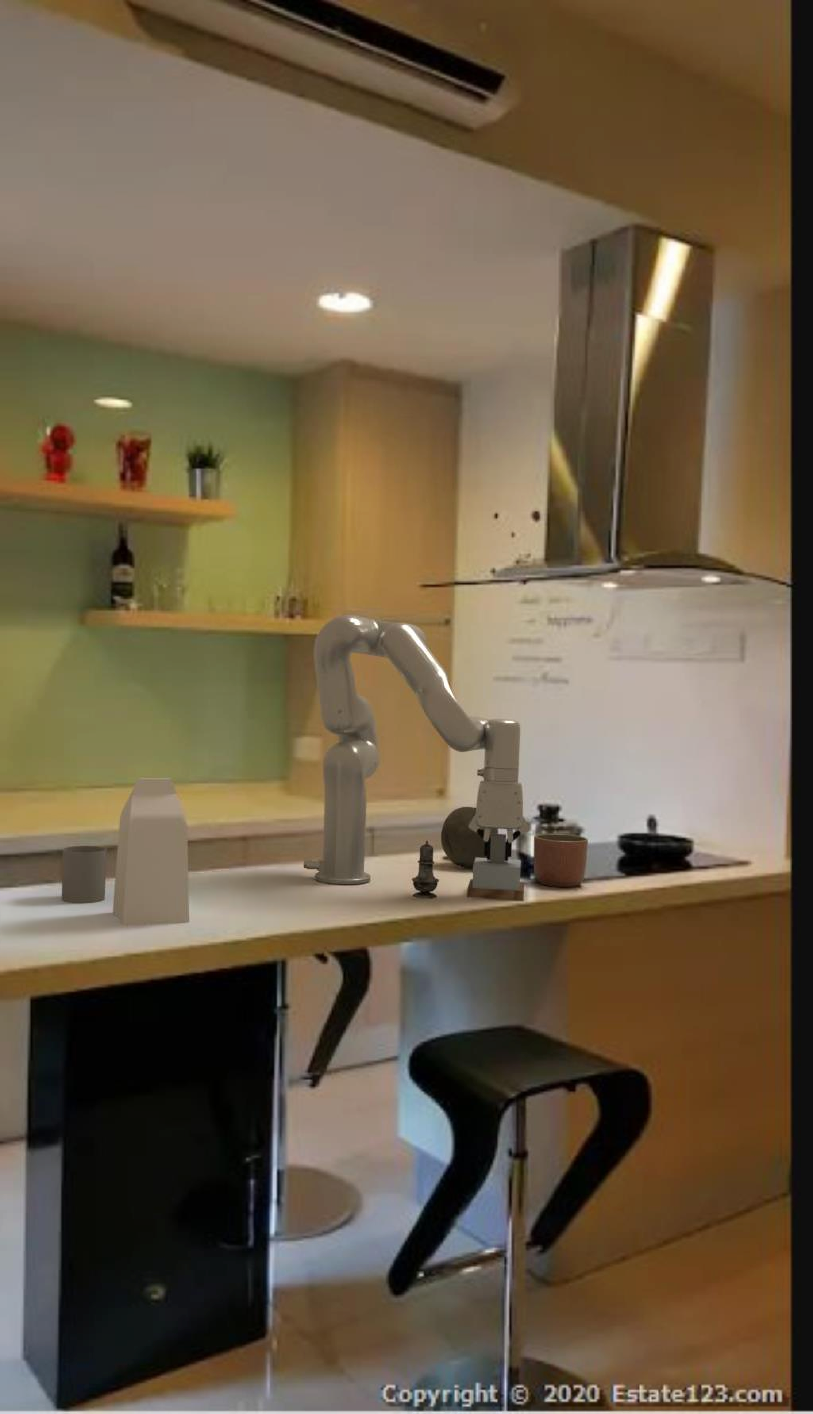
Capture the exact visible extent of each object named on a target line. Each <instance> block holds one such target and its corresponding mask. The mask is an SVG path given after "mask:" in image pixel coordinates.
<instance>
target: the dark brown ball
mask: <svg viewBox="0 0 813 1414" xmlns="http://www.w3.org/2000/svg"><path fill="white" fill-rule="evenodd" d="M475 814H476V807H473V806H461V807H458V808H456V809H454V810H452V811H451V812H450V813H449V814H448V815H447V817H446V818H445V819H444V823H443V825H442V828H441V833H440V841H441V843H440V844H441V847H442V850H443V852H444V854H445V855H446V857H447V858H448V859H449V860H450V862H451V863H453V864H454V865H456V866H458V867H460V868H463V869H473V864H474V861H475V858H476V857H477V858H487V856H484V845H485V841H484V840H483V839H482V838H481V837H480V836H479V834H478V833H476V832H475V831H473V830H471V829H470V828H469V827H468V826H469V824H470V822H471V821H472V819H473V817H474V816H475ZM476 825H477V824H476ZM477 826H478V825H477ZM478 827H479V826H478ZM480 828H482V827H480ZM482 829H483V830H484V831H485V828H482ZM491 834H499V829H496V828H491V830H490V836H489V837H490V838H491ZM490 840H491V839H490Z"/></svg>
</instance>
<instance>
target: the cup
mask: <svg viewBox="0 0 813 1414" xmlns="http://www.w3.org/2000/svg"><path fill="white" fill-rule="evenodd" d="M106 871H107V848H106V847H103V846H97V845H96V846H95V845H75V846H67V847H64V848H63V849H62V874H61V880H62V881H61V901H62V902H63V903H64V902H65V903H70V904H82V905H83V904H94V903H99V902H100V903H101V902H103V901H105V899H106V878H107V877H106V876H107V875H106V874H107V873H106Z"/></svg>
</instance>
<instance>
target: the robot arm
mask: <svg viewBox="0 0 813 1414" xmlns="http://www.w3.org/2000/svg"><path fill="white" fill-rule="evenodd" d="M427 644H428V642H427V637H426V635H425V633H424V631H423V630H422V629H421V628H420V627H418V626H417V625H415V624H412V623H407V622H393V621H392V622H391V621H386V620H380V619H375V618H369V617H363V616H359V615H356V614H355V615H354V614H343V615H338V616H336V617H334V618H332V619H330V620H329V621H328V622H327V623H325V624H324V625H323V626H322V627H321V629H320V630H319V632H318V634H317V636H316V638H315V641H314V645H313V663H314V669H315V674H316V675H315V676H316V682H317V692H318V701H319V707H320V714H321V715H320V716H321V721H322V724H323V726H324V728H325V730H326V731H327V732H329V733H331V734H334V735H335V736H336V735H337V739H338V742H336V743H334V744H333V745H331V746H330V747H329V748H328V750H327V751H326V752H325V754H324V757H323V760H322V761H323V763H322V775H323V782H324V785H323V786H324V806H323V807H324V808H323V811H324V813H323V814H324V815H323V837H322V838H323V839H322V842H323V843H322V857H321V858H320V859H319V858H318V859H317V860H312V859H304V860H303V868H304V869H307V870H316V871H317V872H316V873H315V874H314V879H315V880H316V881H319V882H321V883H326V884H332V885H333V884H334V885H358V884H365V883H369V882H370V881H371V874H369V873H367V872H365V855H366V853H365V851H366V827H367V826H366V825H367V788H366V781H365V780H366V779H368V778H370V777H372V776H373V775H374V774H375V773H376V772H377V769H378V768H379V765H380V764H379V763H380V750H379V741H378V735H377V727H376V719H375V716H374V710H373V708H372V705H371V704H370V702H369V701H368V699H367V698H365V697H364V696H363V695H361V694H359V693H357V689H356V681H355V673H354V669H353V667H352V664H351V659H350V658H351V654H361V655H369V656H374V657H380V658H386V659H388V660H389V661H390V662H391V664H392V665H393V667H394V668H395V669H396V670H397V672H398V673H399V675H400V676H401V677H402V679H403V680H404V682H405V683H406V684H407V685H408V687H409V688H410V690H411V691H412V692H413V693H414V695H415V697H416V700H417V701H418V703H419V704H420V706H421V709H422V710H423V712H424V714H425V716H426V718H427V719H428V721H429V722H430V724H431V725H432V726H433V729H435V731H436V732H437V733H438V734H439V736H440V737H441V739H442V740H443V741H444V742H445V743H446V745H447V746H448V747H450V748H451V749H452V750H454V751H456V752H459V753H467V752H471V751H476V750H477V751H478V750H484V760H483V761H484V764H483V768H481V769H477V772H476V773H477V777H478V776H480V777H481V778H483V780H480V782H479V785H478V790H477V796H476V807H475V808H476V814H475V816H474V817H473V819H472V821H471V822H470V824H469V826H468V827H469V828H470V829H471V830H473V831H475V832H476V833H478V834H479V836H480V837H481V838H482V839H483V840H484V841H485V845H484V856H487V860H490V848H491V840H490V839H491V838H490V837H489V836H490V830H491V828H496V829H498V830H499V829H500V830H506V844H505V861H508V859H509V858H512V852H513V851H512V850H513V849H512V848H513V842H514V841H516V840H517V839H518V838H519V837H520V836H522V835H524V834H526V833H528V832H529V831H530V827H529V825H528V823H527V821H526V818H525V817H524V797H523V796H524V795H523V794H524V793H523V786H522V783H521V782H519V770H520V768H519V767H520V749H521V748H520V746H521V744H520V742H521V724H520V722H519V721H517V720H515V719H507V718H506V719H505V718H503V719H502V718H493V719H488V718H482V717H477V716H469V715H468V714H467V713H466V712H465V710H464V709H463V707H462V706H461V704H460V703H459V701H457V699H456V697H455V696H454V694H453V691H452V690H451V688H450V685H449V677H448V673H447V671H446V669H445V668H444V667H443V666H442V665H441V663H440V662H439V660H438V659H437V658H436V656H435V655H434V654H433V653H432V651H431V650H430V649H429V648H428V646H427ZM476 824H477V825H478V826H479V827H478V826H477V825H476ZM480 827H482V828H485V831H484V830H483V829H482V828H480ZM514 830H515V831H514Z"/></svg>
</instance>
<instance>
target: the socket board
mask: <svg viewBox="0 0 813 1414" xmlns="http://www.w3.org/2000/svg"><path fill="white" fill-rule="evenodd" d="M472 886H473V878H470V880H469V882H468V885H467V893H466V894H467V895H466V896H467V898H472V899H488V900H491V899H492V900H504V901H505V900H506V901H519V900H523V901H524V900H525V899H524V897H525V895H524V894H525V882H524V881H520V887H519V891H516V890H499V889H482V888H472ZM523 901H522V902H523Z"/></svg>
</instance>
